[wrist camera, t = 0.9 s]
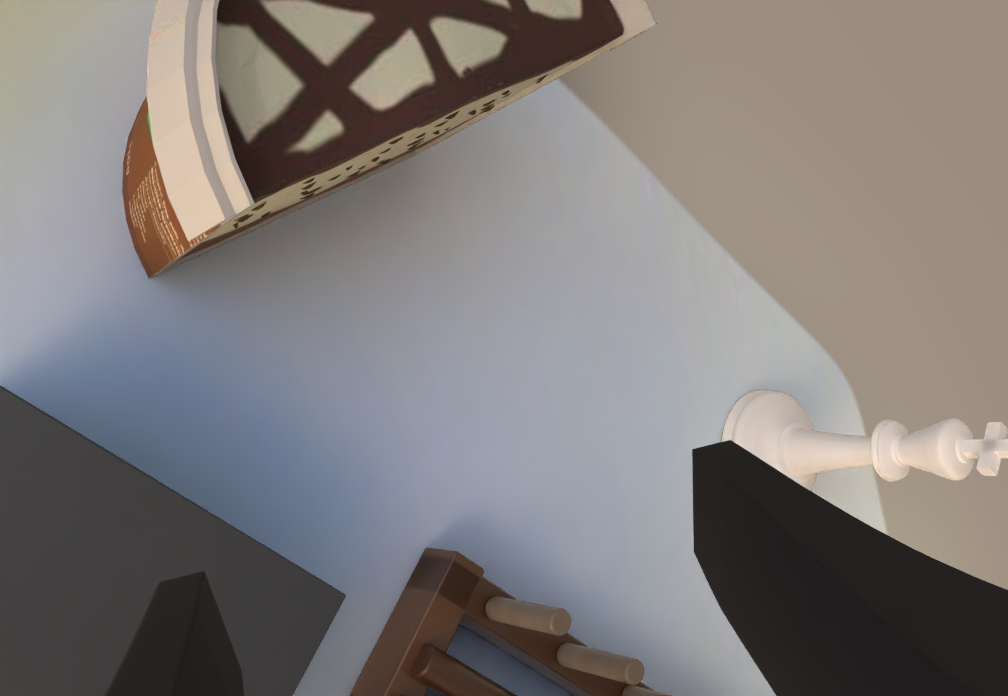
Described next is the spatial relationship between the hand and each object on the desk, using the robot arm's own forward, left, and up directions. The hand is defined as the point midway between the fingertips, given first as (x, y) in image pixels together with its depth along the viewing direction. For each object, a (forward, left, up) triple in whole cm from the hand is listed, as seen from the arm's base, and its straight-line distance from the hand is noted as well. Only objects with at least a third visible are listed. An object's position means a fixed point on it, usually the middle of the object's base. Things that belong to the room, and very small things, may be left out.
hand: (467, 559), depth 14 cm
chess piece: (+13, -18, -14) cm, 26 cm away
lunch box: (-3, +1, -14) cm, 14 cm away
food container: (+10, +5, -14) cm, 18 cm away
